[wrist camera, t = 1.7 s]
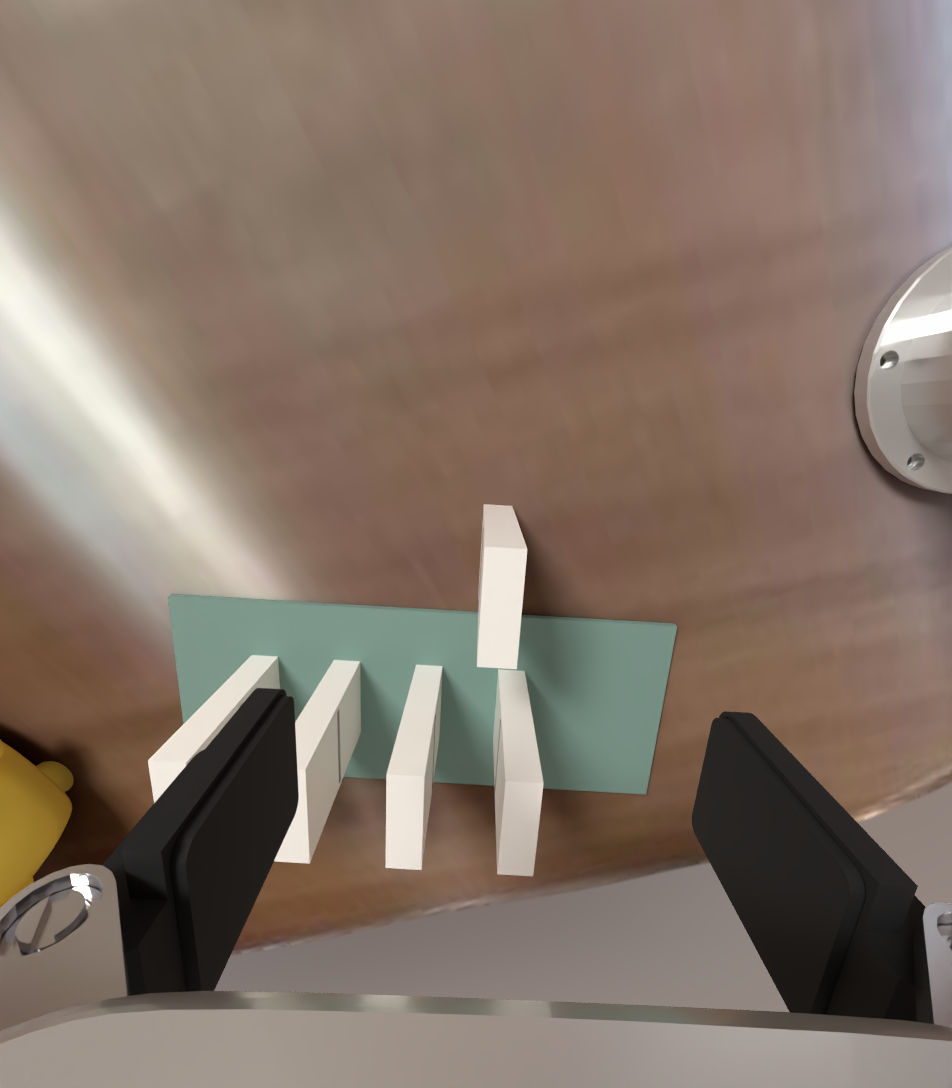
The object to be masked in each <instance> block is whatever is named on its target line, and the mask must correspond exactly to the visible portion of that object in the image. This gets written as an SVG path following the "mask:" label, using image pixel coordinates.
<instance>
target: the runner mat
mask: <svg viewBox="0 0 952 1088" xmlns="http://www.w3.org/2000/svg"><path fill="white" fill-rule="evenodd" d="M168 603H169V611H170V619H171V627H172V635H173V643H174V651H175V659H176V667H177V676H178V684H179V692H180V700H181V708H182V716H183V724H184V723H185V722H186V721H187V720H188V719H189V718H190V717H191V716H192V715H193V714H194V713H195V712H196V711H197V710H198V709H199V708H200V707H201V706H202V705H203V704H204V703H205V702H206V701H207V700H208V699H209V698H210V697H211V696H212V695H213V694H214V693H215V692H216V691H217V690H218V689H219V688H220V687H221V686H222V685H223V684H224V683H225V682H226V681H227V680H228V679H229V678H230V677H231V676H232V675H233V674H234V673H235V672H236V671H237V670H238V669H239V668H240V666H241V665H242V664H243V663H244V662H245V661H246V660H247V659H248V658H249V657H250V656H251V655H259V656H277V657H278V663H279V680H280V689H284V690H285V692H286V695H287V696H292V697H293V699H294V710H295V722H296V720H297V719H298V717H299V715H300V714H301V712H302V711H303V709H304V707H305V706H306V704H307V703H308V701H309V699H310V698H311V696H312V694H313V693H314V691H315V690H316V688H317V686H318V685H319V683H320V682H321V680H322V678H323V677H324V675H325V674H326V672H327V670H328V669H329V667H330V666H331V664H332V662H333V661H334V660H345V661H360V680H361V733H360V736H359V738H358V741H357V743H356V746H355V749H354V751H353V754H352V756H351V759H350V761H349V764H348V767H347V769H346V772H345V774H344V777H353V778H370V779H386V774H387V770H388V767H389V763H390V759H391V756H392V752H393V748H394V745H395V741H396V737H397V734H398V730H399V726H400V723H401V719H402V715H403V711H404V708H405V704H406V700H407V697H408V693H409V689H410V686H411V682H412V678H413V675H414V671H415V667H416V665H431V666H443V667H442V690H441V714H440V737H439V744H438V751H437V759H436V766H435V774H434V781H433V782H439V783H456V784H474V785H491V786H494V758H493V732H494V719H495V707H496V694H497V681H498V669H500V670H517V671H525V676H526V682H527V688H528V694H529V700H530V706H531V711H532V717H533V723H534V729H535V735H536V741H537V747H538V753H539V759H540V765H541V771H542V777H543V783H544V785H543V789H560V790H577V791H595V792H612V793H629V794H646V793H647V787H648V782H649V777H650V771H651V766H652V760H653V755H654V749H655V744H656V739H657V733H658V728H659V722H660V717H661V712H662V706H663V701H664V695H665V690H666V685H667V679H668V674H669V668H670V663H671V658H672V652H673V647H674V641H675V636H676V630H677V626H676V625H675V624H674V623H657V622H640V621H623V620H606V619H589V618H571V617H554V616H537V615H521V627H520V638H519V649H518V660H517V669H504V668H486V667H477V637H478V612H469V611H452V610H435V609H417V608H400V607H383V606H366V605H349V604H332V603H315V602H298V601H281V600H264V599H246V598H229V597H212V596H195V595H178V594H172V595H170V596H168Z"/></svg>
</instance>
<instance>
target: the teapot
mask: <svg viewBox="0 0 952 1088" xmlns="http://www.w3.org/2000/svg"><path fill="white" fill-rule="evenodd" d="M72 785H73V776H72V773H71V772H70V770H69V769H68V768H67V767H65V766H64V765H62V764H60V763H58V762H54V761H45V762H42V763H40V764H39V765H37V766H35V765H34V764H32V763H31V762H30V761H29V760H27V759H26V758H25V757H24V756H22V755H21V754H20V753H18V752H17V751H15V750H14V749H13V748H11V747H10V746H8V745H7V744H5V743H4V742H2V741H1V740H0V908H1V907H2V906H3V905H4V904H5V903H6V902H7V901H8V900H10V899H11V898H12V897H13V896H14V895H16V894H17V893H19V892H20V891H22V890H23V889H24V888H26V887H27V886H29V885H30V884H32V883H34V879H33V876H34V874H35V873H36V872H37V870H38V869H39V868H40V866H41V865H42V864H43V862H44V861H45V859H46V858H47V857H48V855H49V854H50V853H51V851H52V850H53V848H54V846H55V845H56V843H57V841H58V840H59V838H60V836H61V834H62V832H63V831H64V829H65V827H66V825H67V822H68V820H69V818H70V815H71V812H72V803H71V801H70V799H69V797H68V796H67V795H66V794H65V792H66V791H68V790H69V789H70V788H71V787H72Z"/></svg>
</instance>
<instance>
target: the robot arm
mask: <svg viewBox="0 0 952 1088" xmlns="http://www.w3.org/2000/svg"><path fill="white" fill-rule="evenodd" d="M854 397H855V411H856V418H857V422H858V425H859V429H860V432H861V436H862V438H863V440H864V442H865V443H866V445H867V447H868V449H869V451H870V452H871V454H872V456H873V457H874V458H875V459H876V460H877V461H878V462H879V463H880V464H881V466H882V467H883V468H884V469H885V470H886V471H888V472H889V473H891V474H892V475H894V476H895V477H897V478H898V479H899V480H901V481H902V482H905V483H908V484H910V485H913V486H915V487H918V488H921V489H925V490H931V491H936V492H942V493H949V494H952V246H951V247H949V248H947V249H945V250H943V251H942V252H940V253H938V254H936V255H935V256H934V257H932V258H931V259H930V260H929V261H927V262H926V263H925V264H924V265H922V266H921V267H920V268H918V269H917V270H916V271H915V272H913V273H912V274H911V275H910V277H909V278H908V279H907V280H906V281H905V282H904V283H903V284H902V285H901V286H900V287H899V288H898V289H897V290H896V291H895V292H894V294H893V295H892V296H891V298H890V299H889V301H888V302H887V304H886V305H885V306H884V308H883V309H882V311H881V312H880V314H879V315H878V317H877V318H876V320H875V322H874V324H873V326H872V328H871V331H870V333H869V335H868V337H867V339H866V341H865V343H864V346H863V350H862V353H861V356H860V360H859V363H858V366H857V373H856V381H855V390H854ZM298 800H299V793H298V772H297V752H296V731H295V710H294V699H293V697H292V696H287V695H286V692H285V690H284V689H271V688H256V689H255V690H254V691H253V692H252V693H251V695H250V696H249V697H248V698H247V699H246V701H245V702H244V703H243V704H242V705H241V707H240V708H239V709H238V710H237V711H236V713H235V714H234V715H233V716H232V717H231V719H230V720H229V721H228V722H227V723H226V725H225V726H224V727H223V728H222V729H221V731H220V732H219V733H218V734H217V735H216V737H215V738H214V739H213V740H212V741H211V743H210V744H209V745H208V746H207V747H206V749H205V750H202V751H200V752H198V753H197V754H196V755H195V756H194V757H193V758H192V759H191V761H190V762H189V763H188V764H187V765H186V767H185V768H184V769H183V770H182V771H181V772H180V774H179V775H178V776H177V777H176V778H175V780H174V781H173V782H172V783H171V784H170V785H169V787H168V788H167V789H166V790H165V791H164V793H163V794H162V795H161V796H160V797H159V798H158V800H157V801H156V802H155V803H154V804H153V805H152V807H151V808H150V809H149V810H148V811H147V813H146V814H145V815H144V816H143V817H142V818H141V820H140V821H139V822H138V823H137V824H136V826H135V827H134V828H133V829H132V830H131V831H130V833H129V834H128V835H127V836H126V837H125V839H124V840H123V841H122V842H121V843H120V844H119V846H118V847H117V848H116V849H115V850H114V852H113V853H112V854H111V855H110V856H109V857H108V859H107V860H106V861H105V862H104V863H103V865H94V864H84V865H77V866H71V867H68V868H65V869H62V870H59V871H56V872H53V873H51V874H49V875H47V876H45V877H43V878H41V879H39V880H37V881H35V882H34V883H32V884H30V885H29V886H27V887H26V888H24V889H23V890H22V891H20V892H19V893H17V894H16V895H14V896H13V897H12V898H11V899H10V900H8V901H7V902H6V903H5V904H4V905H3V906H2V907H1V908H0V1088H952V904H949V903H932V904H930V905H929V906H927V907H925V906H924V905H923V904H922V903H921V902H920V901H919V900H918V899H917V897H916V896H915V895H914V894H915V892H916V889H917V887H918V886H917V885H916V884H915V883H914V882H913V881H912V880H911V879H910V878H909V877H908V875H907V874H906V873H904V872H903V870H902V869H901V868H900V867H899V866H898V865H897V864H896V863H895V862H894V861H893V860H892V859H891V858H890V857H889V856H888V855H887V853H886V852H885V851H884V850H883V849H882V848H880V846H879V845H878V844H877V843H876V842H875V841H874V840H873V839H872V838H871V837H870V836H869V835H868V834H867V832H866V831H865V830H864V829H863V828H862V827H861V826H860V825H859V824H858V823H857V822H856V821H855V820H854V819H853V818H852V817H851V816H850V815H849V814H848V813H847V812H846V810H845V809H844V808H843V807H842V806H841V805H840V804H839V803H838V802H837V801H836V800H835V799H834V798H833V797H832V796H831V795H830V794H829V793H828V792H827V791H826V790H825V788H824V787H823V786H822V785H821V784H820V783H819V782H818V781H817V780H816V779H815V778H814V777H813V776H812V775H811V774H810V773H809V772H808V771H807V770H806V769H805V768H804V766H803V765H802V764H801V763H800V762H799V761H798V760H797V759H796V758H795V757H794V756H793V755H792V754H791V753H790V752H789V751H788V750H787V749H786V748H785V747H784V746H783V744H782V743H781V742H780V741H779V740H778V739H777V738H776V737H775V736H774V735H773V734H772V733H771V732H770V731H769V730H768V729H767V728H766V727H765V726H764V725H763V724H762V722H761V721H760V720H759V719H758V718H757V717H756V716H755V715H753V714H751V713H742V712H723V713H722V714H721V715H720V716H719V718H715V719H714V720H713V722H712V725H711V730H710V734H709V739H708V744H707V748H706V753H705V758H704V762H703V767H702V772H701V776H700V781H699V786H698V790H697V795H696V800H695V804H694V809H693V814H692V825H693V829H694V833H695V835H696V837H697V839H698V841H699V843H700V845H701V846H702V848H703V850H704V852H705V854H706V856H707V858H708V860H709V861H710V863H711V865H712V867H713V869H714V871H715V872H716V874H717V876H718V878H719V880H720V882H721V884H722V886H723V888H724V889H725V891H726V893H727V895H728V897H729V899H730V901H731V903H732V905H733V906H734V908H735V910H736V912H737V914H738V916H739V918H740V920H741V921H742V923H743V925H744V927H745V929H746V931H747V933H748V935H749V936H750V938H751V940H752V942H753V944H754V946H755V948H756V950H757V951H758V953H759V955H760V957H761V959H762V961H763V963H764V965H765V967H766V968H767V970H768V972H769V974H770V976H771V977H772V980H773V982H774V983H775V985H776V987H777V989H778V991H779V993H780V995H781V996H782V998H783V1000H784V1002H785V1004H786V1006H787V1008H788V1010H789V1011H790V1012H769V1011H749V1010H727V1009H707V1008H687V1007H666V1006H645V1005H620V1004H597V1003H574V1002H551V1001H550V1002H549V1001H526V1000H501V999H477V998H450V997H422V996H421V997H420V996H393V995H365V994H336V993H335V994H334V993H308V992H304V993H303V992H240V991H239V992H238V991H214V989H215V987H216V985H217V983H218V981H219V979H220V977H221V974H222V972H223V970H224V968H225V966H226V963H227V961H228V959H229V957H230V955H231V953H232V951H233V948H234V946H235V944H236V942H237V940H238V938H239V935H240V933H241V931H242V929H243V927H244V925H245V922H246V920H247V918H248V916H249V914H250V912H251V909H252V907H253V905H254V903H255V901H256V899H257V897H258V894H259V892H260V890H261V888H262V886H263V884H264V881H265V879H266V877H267V875H268V873H269V871H270V868H271V866H272V864H273V862H274V860H275V858H276V855H277V853H278V851H279V849H280V847H281V845H282V842H283V840H284V838H285V836H286V834H287V832H288V829H289V827H290V825H291V823H292V821H293V819H294V816H295V814H296V810H297V806H298Z"/></svg>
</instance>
